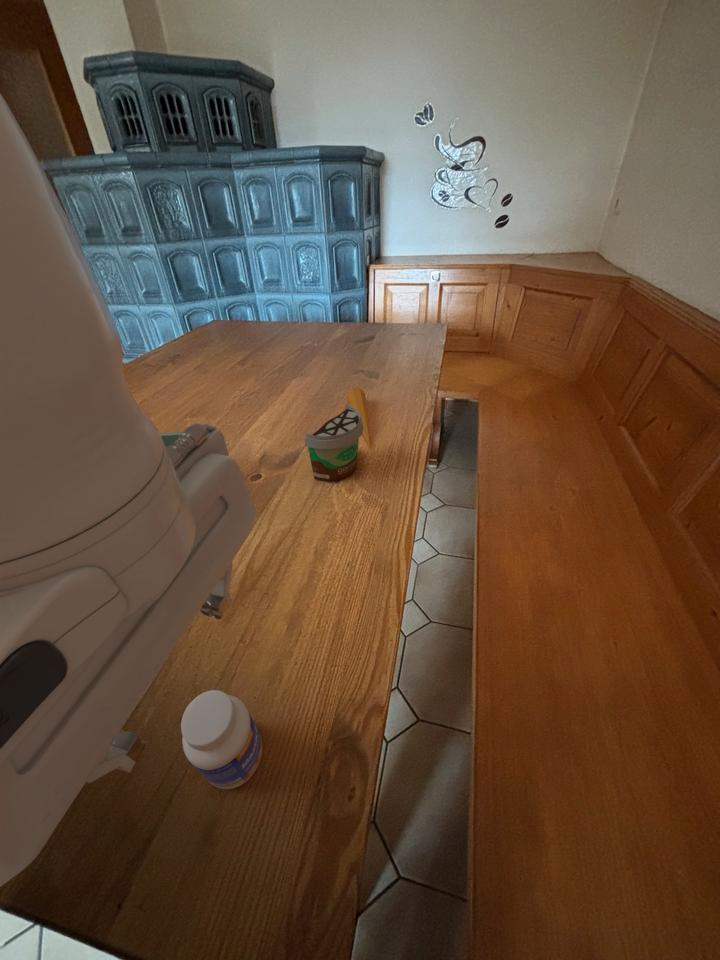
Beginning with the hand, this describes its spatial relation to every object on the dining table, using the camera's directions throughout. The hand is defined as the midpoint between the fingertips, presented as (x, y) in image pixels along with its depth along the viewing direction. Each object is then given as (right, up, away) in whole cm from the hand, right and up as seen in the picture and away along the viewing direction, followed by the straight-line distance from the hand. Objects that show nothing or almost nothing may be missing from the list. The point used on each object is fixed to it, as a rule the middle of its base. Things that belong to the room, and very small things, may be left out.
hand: (179, 671), depth 25 cm
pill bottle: (0, -14, +11) cm, 18 cm away
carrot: (+12, +24, +57) cm, 63 cm away
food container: (+9, +14, +44) cm, 47 cm away
